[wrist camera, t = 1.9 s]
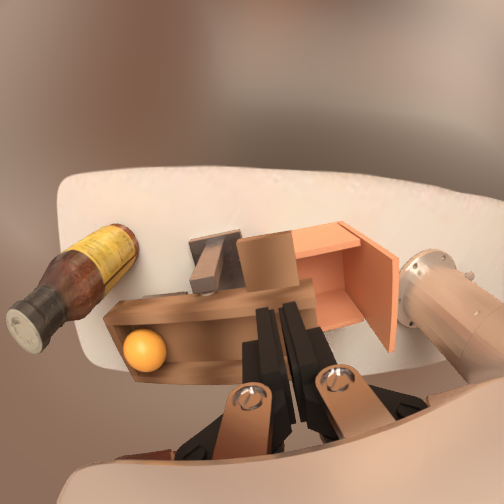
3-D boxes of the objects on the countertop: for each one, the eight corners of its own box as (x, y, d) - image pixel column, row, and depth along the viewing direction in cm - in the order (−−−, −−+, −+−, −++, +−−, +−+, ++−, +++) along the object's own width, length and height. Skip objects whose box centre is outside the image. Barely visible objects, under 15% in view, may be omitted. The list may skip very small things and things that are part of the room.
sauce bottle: (100, 217, 32) (-12, 275, 13) (143, 227, 32) (44, 301, 13) (97, 264, 33) (4, 346, 14) (138, 275, 34) (58, 375, 15)
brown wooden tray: (302, 221, 22) (308, 240, 17) (317, 338, 26) (323, 377, 21) (118, 254, 25) (85, 276, 20) (155, 350, 29) (135, 382, 24)
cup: (341, 220, 32) (398, 258, 19) (348, 288, 35) (394, 351, 22) (267, 235, 33) (282, 284, 19) (280, 303, 36) (297, 377, 22)
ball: (162, 317, 24) (149, 343, 20) (176, 352, 25) (167, 380, 21) (125, 322, 24) (109, 346, 20) (141, 355, 25) (128, 381, 21)
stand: (240, 229, 32) (237, 263, 21) (259, 317, 36) (265, 378, 25) (190, 239, 33) (164, 278, 21) (215, 324, 36) (205, 386, 25)
